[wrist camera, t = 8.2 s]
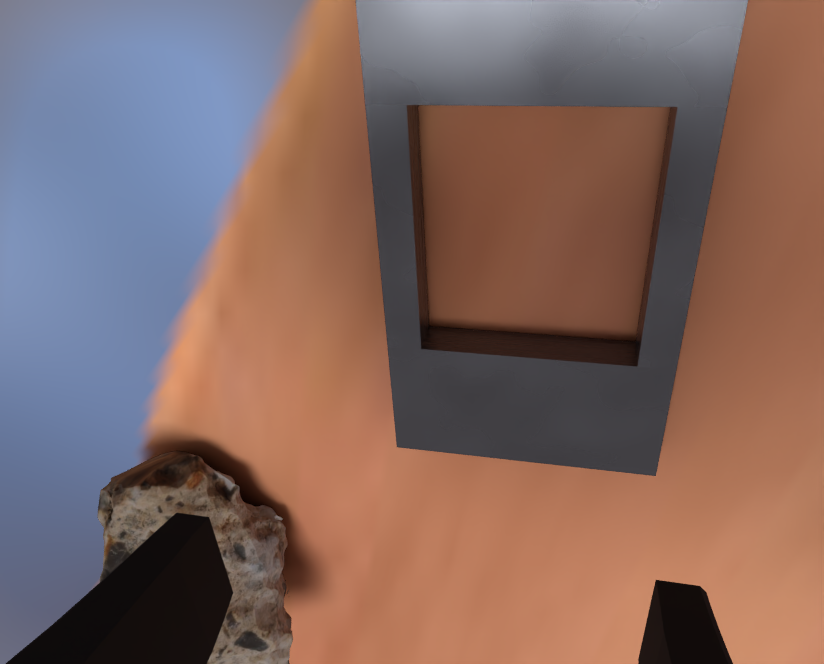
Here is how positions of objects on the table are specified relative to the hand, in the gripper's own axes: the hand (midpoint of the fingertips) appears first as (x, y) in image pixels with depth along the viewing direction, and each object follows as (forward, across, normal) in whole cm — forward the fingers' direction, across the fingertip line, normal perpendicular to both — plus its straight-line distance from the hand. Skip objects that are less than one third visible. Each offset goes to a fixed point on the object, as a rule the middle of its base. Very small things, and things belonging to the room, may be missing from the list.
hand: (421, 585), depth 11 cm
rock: (+11, +11, +13) cm, 20 cm away
